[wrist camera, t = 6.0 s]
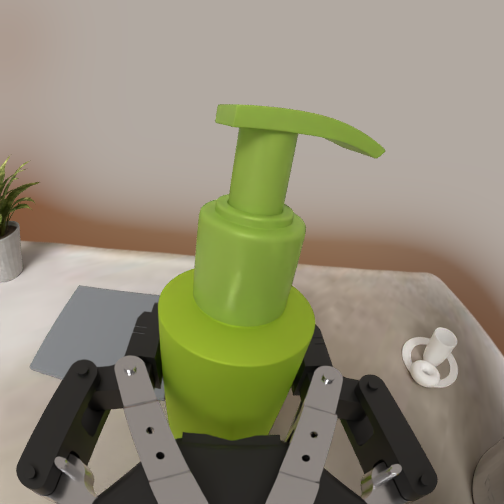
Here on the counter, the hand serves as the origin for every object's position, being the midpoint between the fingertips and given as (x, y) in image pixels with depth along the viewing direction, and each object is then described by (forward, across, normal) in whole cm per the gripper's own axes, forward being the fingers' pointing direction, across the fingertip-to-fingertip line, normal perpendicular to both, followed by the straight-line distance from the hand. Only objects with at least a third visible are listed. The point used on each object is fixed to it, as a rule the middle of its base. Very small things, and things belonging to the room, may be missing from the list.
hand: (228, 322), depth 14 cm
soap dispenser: (-2, 0, +10) cm, 10 cm away
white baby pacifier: (+6, -20, +11) cm, 23 cm away
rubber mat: (+8, +11, +10) cm, 17 cm away
